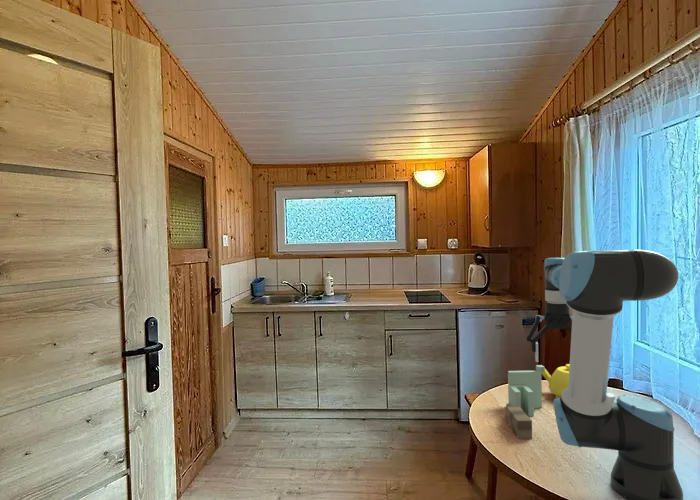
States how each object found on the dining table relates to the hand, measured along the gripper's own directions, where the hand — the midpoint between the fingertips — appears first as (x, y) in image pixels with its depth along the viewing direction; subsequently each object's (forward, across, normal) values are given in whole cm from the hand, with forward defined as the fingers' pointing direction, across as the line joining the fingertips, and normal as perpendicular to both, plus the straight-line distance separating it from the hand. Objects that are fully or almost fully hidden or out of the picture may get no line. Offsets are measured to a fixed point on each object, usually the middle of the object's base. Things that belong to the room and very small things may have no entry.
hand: (558, 362), depth 144 cm
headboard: (+22, +9, -9) cm, 25 cm away
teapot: (+22, -6, -26) cm, 35 cm away
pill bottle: (+22, -16, -5) cm, 28 cm away
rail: (+22, +14, +6) cm, 27 cm away
